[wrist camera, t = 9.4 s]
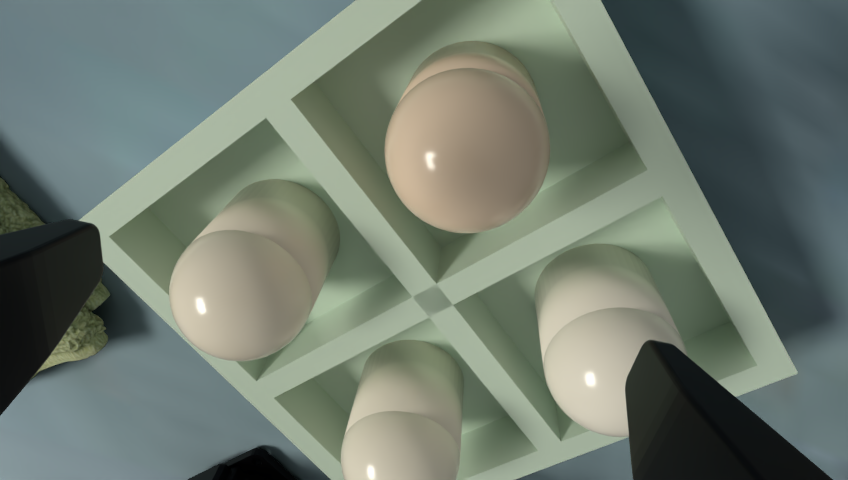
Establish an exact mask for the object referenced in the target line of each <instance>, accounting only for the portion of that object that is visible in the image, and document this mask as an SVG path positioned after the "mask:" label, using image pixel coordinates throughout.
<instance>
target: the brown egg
mask: <svg viewBox="0 0 848 480" xmlns="http://www.w3.org/2000/svg"><path fill="white" fill-rule="evenodd" d="M384 151H385V164H386V169H387V173H388V176H389V179H390V182H391V184H392V186H393V188H394V190H395V192H396V194H397V195H398V197H399V198H400V200H401V201H402V203H403V204H404V205H405V206H406V207H407V208H408V209H409V210H410V211H411V212H412V213H413V214H414V215H415V216H417V217H418V218H419V219H421V220H422V221H424V222H426V223H428V224H430V225H431V226H434V227H436V228H439V229H441V230H445V231H449V232H454V233H479V232H484V231H488V230H491V229H494V228H497V227H500V226H502V225H504V224H506V223H508V222H509V221H511V220H512V219H514V218H516V217H517V216H518V215H519V214H520V213H522V212H523V211H524V210H525V209H526V208H527V207H528V205H529V204H530V203H531V202H532V201H533V199H534V198H535V197H536V195H537V194H538V192H539V190H540V188H541V187H542V185H543V182H544V179H545V177H546V174H547V170H548V166H549V161H550V137H549V132H548V127H547V123H546V120H545V117H544V113H543V110H542V107H541V104H540V100H539V97H538V94H537V90H536V87H535V85H534V82H533V79H532V77H531V75H530V74H529V72H528V70H527V69H526V68H525V66H524V65H523V64H522V63H521V62H520V61H519V59H518V58H516V57H515V56H514V55H513V54H511V53H510V52H508V51H507V50H505V49H503V48H501V47H499V46H497V45H494V44H491V43H487V42H481V41H463V42H457V43H453V44H450V45H447V46H445V47H443V48H440V49H439V50H437V51H436V52H434V53H432V54H431V55H430V56H429V57H427V58H426V59H425V60H424V61H423V62H422V63H421V64H420V65H419V67H418V68H417V70H416V71H415V72H414V74H413V76H412V78H411V80H410V82H409V84H408V85H407V87H406V89H405V91H404V93H403V95H402V97H401V99H400V101H399V103H398V105H397V107H396V109H395V111H394V113H393V115H392V117H391V120H390V122H389V125H388V129H387V133H386V138H385V148H384Z"/></svg>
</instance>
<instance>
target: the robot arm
mask: <svg viewBox="0 0 848 480" xmlns="http://www.w3.org/2000/svg"><path fill="white" fill-rule="evenodd" d="M102 274H103V258H102V248H101V239H100V232H99V229H98V228H97V226H95V225H94V224H92V223H88V222H83V221H78V220H73V219H67V220H62V221H58V222H53V223H49V224H45V225H40V226H36V227H32V228H27V229H23V230H18V231H14V232H10V233H5V234H1V235H0V415H1V414H2V413H3V412H4V411H5V409H6V408H7V407H8V406H9V405H10V403H11V402H12V401H13V400H14V399H15V397H16V396H17V395H18V394H19V393H20V392H21V390H22V389H23V388H24V387H25V386H26V384H27V383H28V382H29V381H30V380H31V378H32V377H33V376H34V375H35V374H36V372H37V371H38V370H39V369H40V368H41V366H42V365H43V364H44V363H45V361H46V360H47V359H48V357H49V356H50V355H51V354H52V352H53V351H54V349H55V348H56V347H57V345H58V344H59V342H60V341H61V339H62V338H63V336H64V335H65V333H66V332H67V330H68V329H69V327H70V326H71V324H72V323H73V321H74V320H75V318H76V317H77V315H78V314H79V312H80V311H81V309H82V308H83V306H84V305H85V303H86V302H87V300H88V299H89V297H90V296H91V294H92V293H93V291H94V290H95V288H96V287H97V285H98V284H99V282H100V280H101V278H102ZM625 397H626V408H627V420H628V431H629V442H630V454H631V464H632V473H633V479H634V480H833V479H831V478H830V477H829V476H828V475H827V474H826V473H824V472H823V471H822V470H821V469H820V468H818V467H817V466H816V465H815V464H814V463H813V462H811V461H810V460H809V459H808V458H807V457H805V456H804V455H803V454H802V453H801V452H800V451H798V450H797V449H796V448H795V447H794V446H792V445H791V444H790V443H789V442H788V441H787V440H785V439H784V438H783V437H782V436H781V435H780V434H778V433H777V432H776V431H775V430H774V429H772V428H771V427H770V426H769V425H768V424H767V423H765V422H764V421H763V420H762V419H761V418H759V417H758V416H757V415H756V414H755V413H754V412H752V411H751V410H750V409H749V408H748V407H747V406H745V405H744V404H743V403H742V402H741V401H739V400H738V399H737V398H736V397H735V396H734V395H732V394H731V393H730V392H729V391H728V390H727V389H725V388H724V387H723V386H722V385H721V384H719V383H718V382H717V381H716V380H715V379H714V378H712V377H711V376H710V375H709V374H708V373H706V372H705V371H704V370H703V369H702V368H701V367H699V366H698V365H697V364H696V363H695V362H694V361H692V360H691V359H690V358H689V357H688V356H686V355H685V354H684V353H683V352H682V351H681V350H679V349H678V348H677V347H676V346H675V345H673V344H670V343H666V342H661V341H656V340H648V341H645V342H644V344H643V345H642V347H641V349H640V351H639V353H638V355H637V357H636V359H635V361H634V363H633V365H632V368H631V370H630V372H629V374H628V376H627V379H626V384H625ZM188 480H297V479H296V478H295V477H294V476H292V475H291V474H290V473H289V472H288V471H287V470H286V469H285V468H284V467H283V466H282V465H281V464H280V463H278V462H277V461H276V460H275V459H274V458H273V457H272V456H271V455H270V454H269V453H268V452H266V451H265V450H263V449H260V448H256V449H252V450H250V451H248V452H246V453H244V454H242V455H240V456H238V457H236V458H234V459H232V460H230V461H228V462H225V463H223V464H218V465H216V466H214V467H212V468H210V469H208V470H206V471H204V472H202V473H200V474H198V475H196V476H194V477H192V478H189V479H188Z"/></svg>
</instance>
